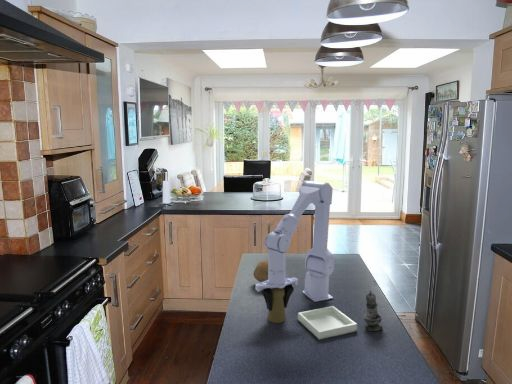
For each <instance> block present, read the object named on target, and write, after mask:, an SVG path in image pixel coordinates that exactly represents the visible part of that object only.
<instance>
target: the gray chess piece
mask: <svg viewBox="0 0 512 384" xmlns="http://www.w3.org/2000/svg"><path fill="white" fill-rule="evenodd" d="M365 298H366V300H365V301H366V303H365V306H366V313H364V314H363V315H362V317H363V319H364V322H365V323H366V324H365V325H364V328H365V329H366V330H368V331H372V332H374V331H375V332H376V331H380V330H382V328H383V326H382V324H381V322H382V318H383V314H381V313H380V312H378V308H377V307H378V303H377V301H376V300H377V299H376V294H374V293H373V292H372V290H369V292H368V293H367V294H366V295H365Z"/></svg>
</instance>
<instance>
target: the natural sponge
mask: <svg viewBox="0 0 512 384" xmlns="http://www.w3.org/2000/svg"><path fill="white" fill-rule="evenodd" d="M252 275H253V277H254V279H255V280H256V281H258V283H261V282H264V281H267V280H268V260H266V259H264V260H261V261H259V262H258V263H257V265H256V266H255V268H254V270H253V274H252Z"/></svg>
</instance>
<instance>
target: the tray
mask: <svg viewBox="0 0 512 384" xmlns="http://www.w3.org/2000/svg"><path fill="white" fill-rule="evenodd" d="M297 320H298V322H300V324H302V325H303V326H304V327H305V328H306V329H307V330H308V331H309V332H310V333H311V334H312V335H314V337H316V338H317V340H323V339H328V338H332V337H337V336H341V335H346V334H350V333H355V332H357V331H358V323H357V322H355V321H354V320H352V319H351V318H350V317H349V316H347V315H346V314H345V313H343V312H342V311H341V310H339V309H338V308H337V307H335V306H334V305H330V306H325V307H320V308H315V309H310V310H305V311H301V312H297Z"/></svg>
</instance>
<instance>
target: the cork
mask: <svg viewBox="0 0 512 384" xmlns="http://www.w3.org/2000/svg"><path fill="white" fill-rule="evenodd" d="M270 290H271V292H272V293H273V296H272V309H271V311H269V310H268V314H267V321H269V322H270V323H273V324H280V323H283V322H285V321H287V317H286V308H284V300H283V297H284V295H285V290H284V288H271V289H270Z"/></svg>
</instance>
